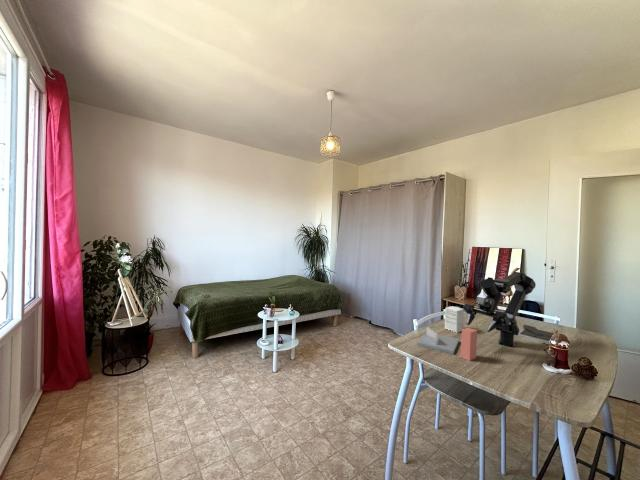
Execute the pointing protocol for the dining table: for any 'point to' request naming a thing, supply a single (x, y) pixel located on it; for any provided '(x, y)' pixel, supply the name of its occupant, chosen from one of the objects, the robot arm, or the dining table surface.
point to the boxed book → (468, 343)
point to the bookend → (432, 335)
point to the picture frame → (535, 334)
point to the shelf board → (440, 343)
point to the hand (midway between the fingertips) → (477, 328)
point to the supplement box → (454, 318)
